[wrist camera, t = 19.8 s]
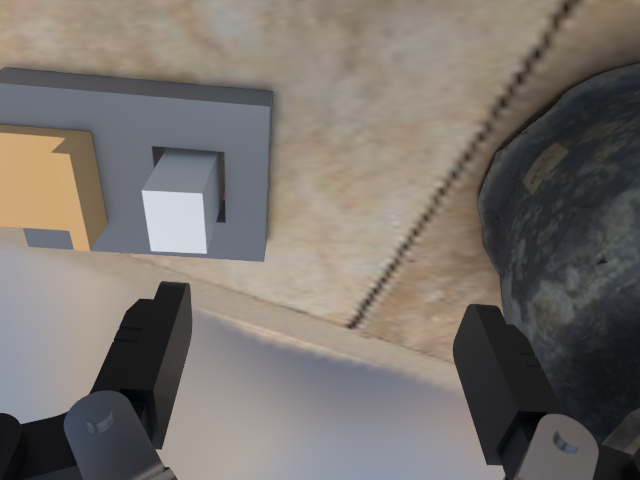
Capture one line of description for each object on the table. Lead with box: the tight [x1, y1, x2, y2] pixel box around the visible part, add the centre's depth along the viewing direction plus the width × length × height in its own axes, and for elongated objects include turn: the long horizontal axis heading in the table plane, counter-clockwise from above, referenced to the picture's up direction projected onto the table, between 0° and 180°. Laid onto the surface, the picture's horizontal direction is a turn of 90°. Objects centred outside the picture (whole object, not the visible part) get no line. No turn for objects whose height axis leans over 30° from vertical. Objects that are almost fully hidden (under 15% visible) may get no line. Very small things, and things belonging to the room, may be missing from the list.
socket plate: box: [0, 68, 273, 262], centre depth 39 cm, size 14×20×4 cm
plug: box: [142, 147, 224, 254], centre depth 37 cm, size 5×4×9 cm
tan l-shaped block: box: [0, 124, 108, 251], centre depth 35 cm, size 8×8×4 cm
